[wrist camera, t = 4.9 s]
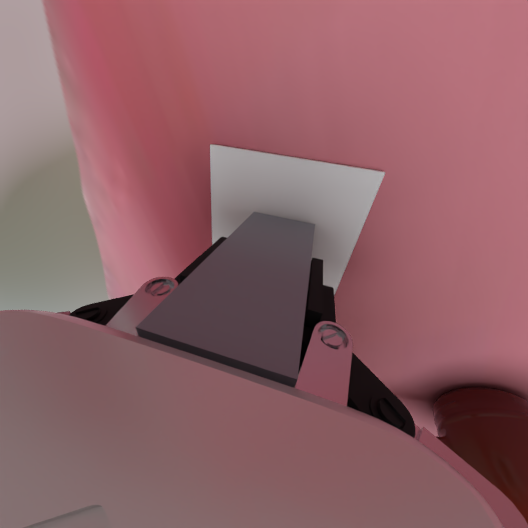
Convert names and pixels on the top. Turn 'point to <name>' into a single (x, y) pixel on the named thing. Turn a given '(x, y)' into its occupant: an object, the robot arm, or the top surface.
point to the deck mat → (294, 199)
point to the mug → (488, 437)
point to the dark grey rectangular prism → (243, 301)
